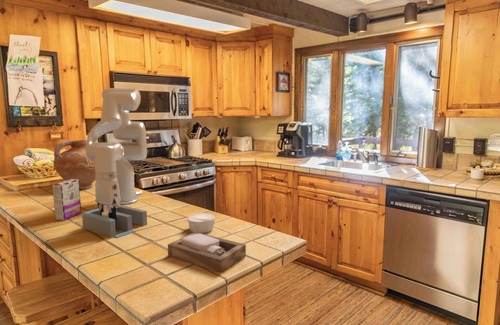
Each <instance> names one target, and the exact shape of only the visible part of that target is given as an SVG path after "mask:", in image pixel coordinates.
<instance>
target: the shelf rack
mask: <svg viewBox="0 0 500 325" xmlns="http://www.w3.org/2000/svg"><path fill="white" fill-rule="evenodd" d="M120 205H121V206H120V207H119V208H118V209H117V211H116V217H117V220H116V221H115V219H111V218H108V217H104V216H100V210H99V208H96V209H91V210H88V211H84V213H81V216H82V217H81V219H82V220H81V221H82V229H84V230H86V231H90V232H92V233H96V234H100V235H103V236H105V237H108V238H116V239H118V238H121V237H125V236H127V235H130V234H132V233H135V230H133V224H135V225H140V226H143V227H145V226H147V225H148V215H147V213H148V212H147V210H144V209H140V208H135V207H131V206H127V205H124V204H120ZM112 208H113V206H112ZM116 229H119V230H122V231H124V232H122V233H119V234H118V233H117V234H116Z"/></svg>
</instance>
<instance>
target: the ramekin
mask: <svg viewBox="0 0 500 325" xmlns="http://www.w3.org/2000/svg"><path fill="white" fill-rule="evenodd" d="M215 219H216V217H215V215H214V214H212V213H206V212H205V213H204V212H201V213H200V212H199V213H194V214H190V215H188V216H187V222H188V227H189V231H191V233H194V232H198V233H202V234H206V233H209V232H211V231H212V230H213V229H214V225H215V221H216V220H215Z"/></svg>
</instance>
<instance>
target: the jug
mask: <svg viewBox="0 0 500 325" xmlns="http://www.w3.org/2000/svg"><path fill="white" fill-rule="evenodd" d="M86 144H87V139H80V140H79V139H77V140H76V139H73V140H63V141H61V142H60V143H59V144H57V145H56V147H55V148H54V151H53V156H54V159H53V167H54V170H55V171H56V172H57V174H58V175H59V176H60V177H61V178H62V179H63V181H65V180H69V179H79V189H80V190H86V189H91V188H93V187H94V185H93V183H94V182H96V173H95V161H92V160H89V159H88V158H87V156H86ZM67 146H70V148H69V149H67V150H64V151H62V152H61V150H62V149H63V148H64V147H67Z"/></svg>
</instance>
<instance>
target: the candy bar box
mask: <svg viewBox="0 0 500 325" xmlns="http://www.w3.org/2000/svg"><path fill="white" fill-rule="evenodd" d="M51 185H52V195H53V206H54V214H55V220H57V221H67V220H69V219H71V218H75V217H76V216H78V215H82V214H83V213H82V212H83V211H82V202H81V192H80V191H81V189H79V179H69V180H63V181H59V182H55V183H52V184H51Z"/></svg>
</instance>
